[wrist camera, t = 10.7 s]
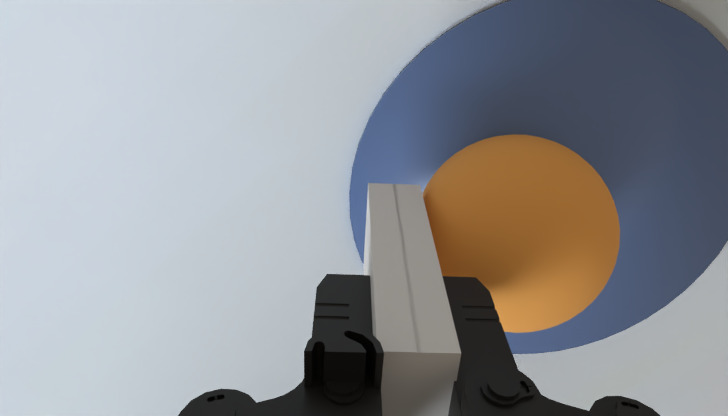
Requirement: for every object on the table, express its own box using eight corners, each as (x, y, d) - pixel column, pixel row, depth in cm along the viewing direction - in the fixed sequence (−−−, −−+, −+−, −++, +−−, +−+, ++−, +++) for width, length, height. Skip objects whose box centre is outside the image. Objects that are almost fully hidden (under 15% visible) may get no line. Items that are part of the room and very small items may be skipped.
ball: (465, 247, 20) (620, 308, 17) (371, 317, 16) (550, 410, 13) (483, 100, 18) (668, 139, 15) (379, 140, 14) (600, 204, 11)
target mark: (677, 355, 21) (680, 359, 21) (342, 344, 21) (342, 348, 21) (826, 0, 15) (832, 1, 15) (359, -25, 15) (358, -24, 15)
